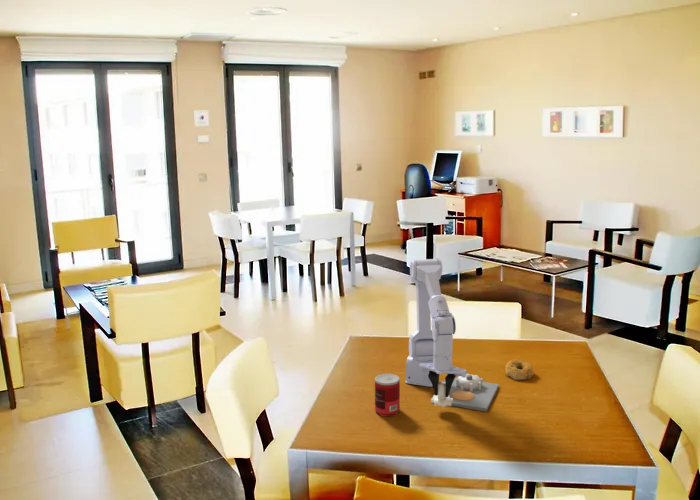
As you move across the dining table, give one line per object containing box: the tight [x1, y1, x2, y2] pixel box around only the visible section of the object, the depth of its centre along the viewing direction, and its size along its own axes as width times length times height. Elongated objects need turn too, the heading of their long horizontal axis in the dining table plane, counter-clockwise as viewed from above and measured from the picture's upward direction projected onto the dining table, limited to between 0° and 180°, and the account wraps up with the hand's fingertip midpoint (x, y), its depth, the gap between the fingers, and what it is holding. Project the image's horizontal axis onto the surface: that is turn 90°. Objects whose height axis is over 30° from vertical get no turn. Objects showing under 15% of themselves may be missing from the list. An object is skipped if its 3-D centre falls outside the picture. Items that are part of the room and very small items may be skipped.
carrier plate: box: [431, 373, 500, 412], centre depth 214 cm, size 18×20×4 cm
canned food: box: [374, 373, 401, 417], centre depth 202 cm, size 8×8×11 cm
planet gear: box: [430, 381, 453, 408], centre depth 201 cm, size 6×6×6 cm
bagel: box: [504, 358, 535, 381], centre depth 229 cm, size 10×11×5 cm
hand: (442, 395), depth 201 cm, fingers closed on planet gear, 3 cm apart
